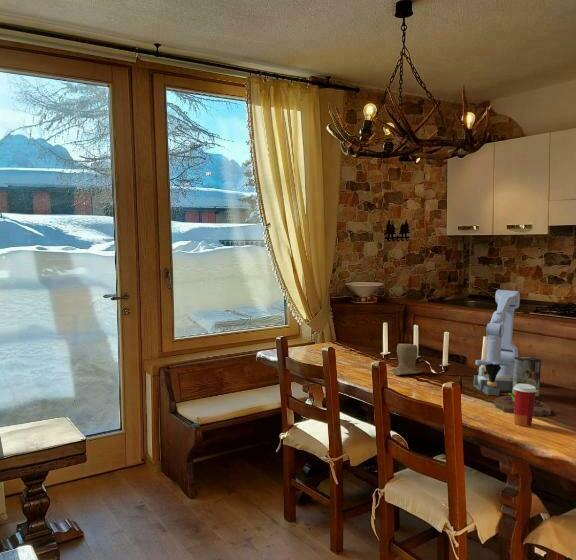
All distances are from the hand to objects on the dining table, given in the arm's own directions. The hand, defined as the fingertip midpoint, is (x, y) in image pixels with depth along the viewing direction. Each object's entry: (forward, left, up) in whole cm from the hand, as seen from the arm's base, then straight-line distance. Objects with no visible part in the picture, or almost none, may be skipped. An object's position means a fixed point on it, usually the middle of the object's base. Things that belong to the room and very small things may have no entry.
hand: (491, 381), depth 242 cm
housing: (-5, +5, -5) cm, 9 cm away
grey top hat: (-35, -29, -6) cm, 45 cm away
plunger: (0, 0, -4) cm, 5 cm away
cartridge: (-9, +4, -4) cm, 10 cm away
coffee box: (0, +15, -6) cm, 16 cm away
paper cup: (+40, -5, -6) cm, 41 cm away
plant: (+20, +4, -6) cm, 21 cm away
